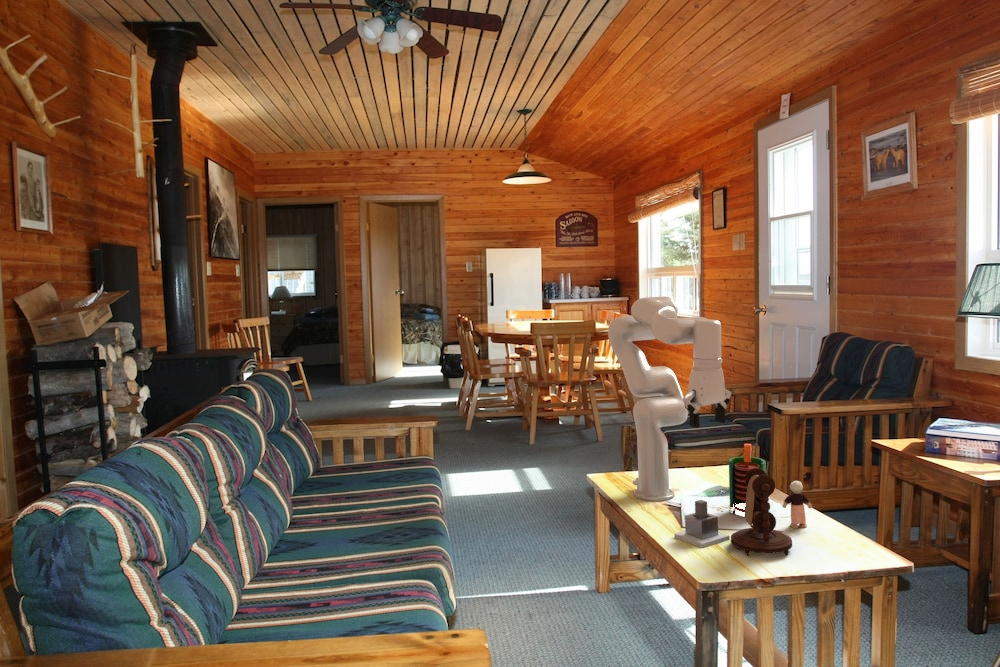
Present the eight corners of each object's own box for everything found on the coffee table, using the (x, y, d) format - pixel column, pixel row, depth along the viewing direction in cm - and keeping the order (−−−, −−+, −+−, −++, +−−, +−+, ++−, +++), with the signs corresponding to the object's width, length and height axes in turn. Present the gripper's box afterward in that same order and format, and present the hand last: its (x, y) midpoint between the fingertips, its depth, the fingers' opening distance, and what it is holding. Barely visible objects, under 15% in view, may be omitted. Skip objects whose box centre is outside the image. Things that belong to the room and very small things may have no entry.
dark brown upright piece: (724, 539, 198) (723, 464, 197) (781, 537, 197) (780, 463, 196) (739, 559, 184) (737, 479, 182) (800, 558, 183) (799, 478, 181)
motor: (730, 517, 216) (729, 448, 214) (728, 507, 224) (727, 442, 223) (767, 518, 213) (766, 449, 212) (764, 508, 222) (763, 442, 221)
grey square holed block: (685, 533, 201) (685, 515, 200) (701, 529, 204) (701, 511, 203) (702, 539, 195) (701, 521, 195) (718, 535, 199) (717, 516, 198)
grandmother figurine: (806, 522, 208) (805, 478, 207) (813, 527, 204) (813, 481, 203) (780, 525, 207) (779, 480, 206) (787, 529, 203) (786, 483, 202)
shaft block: (674, 537, 201) (673, 500, 201) (701, 529, 206) (700, 493, 206) (702, 547, 193) (701, 509, 192) (729, 539, 198) (728, 502, 197)
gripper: (720, 359, 215) (720, 418, 217) (674, 365, 207) (674, 426, 209) (740, 362, 209) (739, 422, 211) (693, 368, 201) (693, 431, 202)
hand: (707, 424), depth 210 cm, fingers open, 9 cm apart
